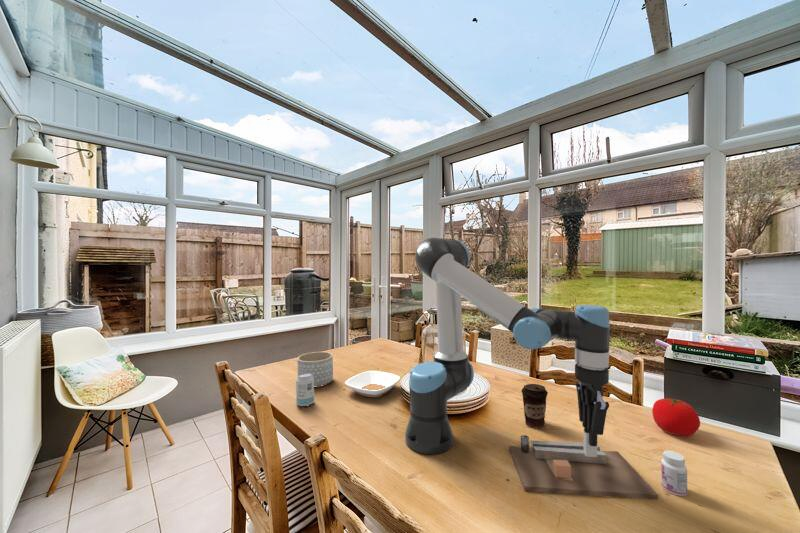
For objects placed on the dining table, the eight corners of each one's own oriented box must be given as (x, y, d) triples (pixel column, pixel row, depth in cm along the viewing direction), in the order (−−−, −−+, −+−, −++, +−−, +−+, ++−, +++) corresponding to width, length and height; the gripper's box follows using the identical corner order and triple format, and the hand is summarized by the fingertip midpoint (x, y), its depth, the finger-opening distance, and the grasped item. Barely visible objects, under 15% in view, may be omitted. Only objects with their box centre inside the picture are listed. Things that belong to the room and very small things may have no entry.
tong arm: (535, 458, 87) (535, 449, 87) (533, 454, 89) (533, 446, 89) (606, 464, 84) (606, 455, 84) (603, 460, 86) (603, 451, 86)
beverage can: (313, 399, 132) (313, 371, 132) (314, 406, 126) (314, 376, 126) (296, 402, 130) (295, 373, 130) (296, 409, 124) (295, 378, 124)
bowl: (406, 387, 143) (406, 376, 143) (378, 406, 125) (378, 393, 125) (369, 379, 155) (368, 368, 155) (338, 395, 136) (338, 383, 136)
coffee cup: (551, 432, 103) (550, 392, 103) (524, 430, 105) (524, 391, 105) (544, 419, 112) (544, 382, 112) (520, 417, 113) (519, 381, 113)
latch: (556, 477, 80) (555, 465, 80) (552, 470, 82) (552, 459, 82) (571, 478, 79) (571, 466, 79) (567, 471, 82) (567, 460, 82)
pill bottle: (656, 483, 79) (655, 450, 79) (673, 482, 79) (673, 448, 79) (674, 497, 74) (673, 461, 74) (693, 495, 74) (692, 460, 74)
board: (524, 491, 77) (524, 485, 77) (509, 450, 94) (509, 445, 94) (658, 499, 73) (658, 494, 73) (617, 455, 90) (617, 451, 90)
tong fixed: (522, 452, 90) (521, 439, 90) (520, 448, 93) (519, 434, 93) (600, 456, 88) (600, 442, 88) (596, 452, 90) (596, 438, 90)
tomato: (661, 438, 98) (661, 405, 98) (646, 420, 109) (645, 390, 109) (707, 445, 94) (707, 410, 94) (686, 425, 106) (686, 394, 105)
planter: (328, 389, 143) (328, 361, 143) (292, 389, 143) (292, 362, 143) (336, 376, 160) (335, 351, 160) (304, 376, 160) (303, 352, 160)
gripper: (621, 375, 74) (620, 473, 75) (594, 358, 87) (593, 441, 88) (587, 373, 75) (586, 470, 76) (566, 357, 88) (565, 439, 89)
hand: (590, 454), depth 82 cm, fingers closed
